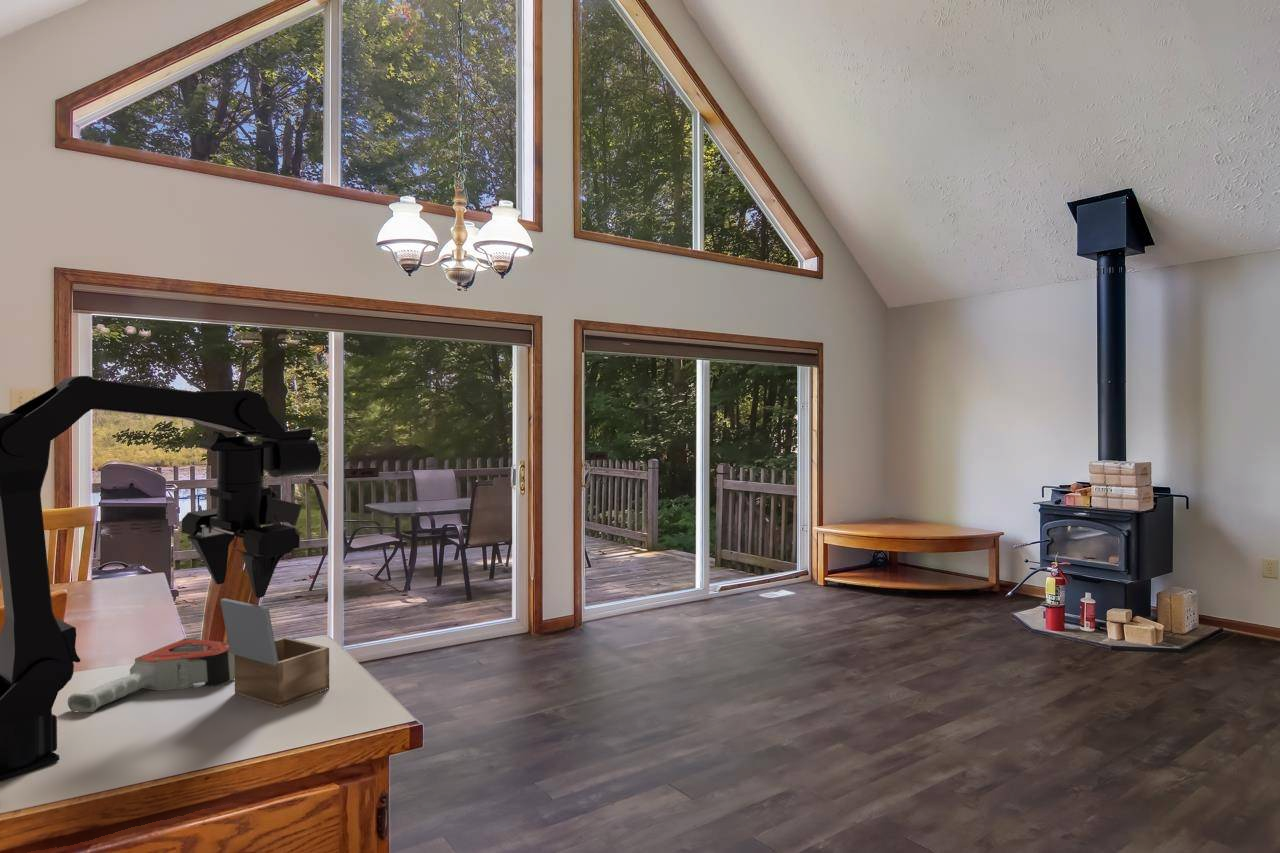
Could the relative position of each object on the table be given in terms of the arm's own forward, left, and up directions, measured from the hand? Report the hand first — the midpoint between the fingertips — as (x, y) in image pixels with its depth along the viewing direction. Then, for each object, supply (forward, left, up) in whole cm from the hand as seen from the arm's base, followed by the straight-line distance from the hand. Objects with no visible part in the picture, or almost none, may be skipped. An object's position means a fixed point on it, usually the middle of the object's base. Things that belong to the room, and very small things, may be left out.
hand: (239, 590), depth 108 cm
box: (+4, -3, -15) cm, 16 cm away
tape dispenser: (-3, +14, -16) cm, 21 cm away
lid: (-1, -3, -5) cm, 6 cm away
